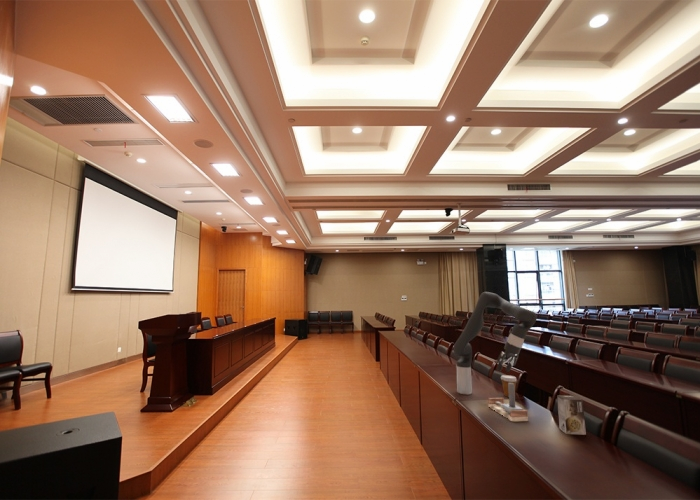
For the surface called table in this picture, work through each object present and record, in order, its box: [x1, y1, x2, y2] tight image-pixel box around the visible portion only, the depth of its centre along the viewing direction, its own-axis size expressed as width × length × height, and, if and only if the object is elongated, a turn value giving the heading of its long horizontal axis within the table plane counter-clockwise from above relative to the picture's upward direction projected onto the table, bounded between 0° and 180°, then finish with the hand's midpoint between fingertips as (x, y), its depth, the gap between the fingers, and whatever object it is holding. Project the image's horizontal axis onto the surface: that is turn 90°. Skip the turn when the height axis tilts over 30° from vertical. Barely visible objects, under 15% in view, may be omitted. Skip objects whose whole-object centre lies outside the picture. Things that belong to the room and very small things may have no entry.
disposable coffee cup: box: [500, 374, 517, 398], centre depth 214 cm, size 10×10×12 cm
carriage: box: [502, 383, 524, 413], centre depth 177 cm, size 8×7×15 cm
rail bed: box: [487, 397, 529, 422], centre depth 181 cm, size 22×9×5 cm, turn 8°
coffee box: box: [556, 394, 587, 436], centre depth 158 cm, size 9×6×16 cm
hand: (502, 371), depth 175 cm, fingers open, 8 cm apart
